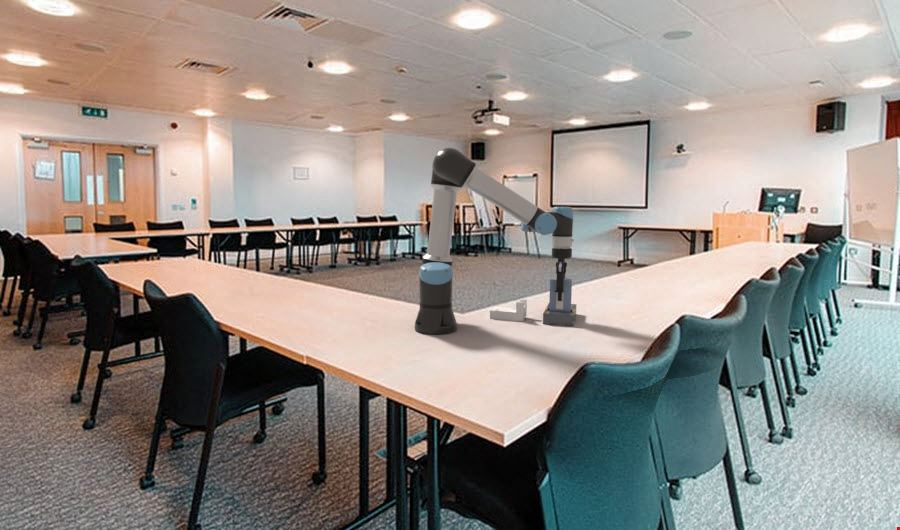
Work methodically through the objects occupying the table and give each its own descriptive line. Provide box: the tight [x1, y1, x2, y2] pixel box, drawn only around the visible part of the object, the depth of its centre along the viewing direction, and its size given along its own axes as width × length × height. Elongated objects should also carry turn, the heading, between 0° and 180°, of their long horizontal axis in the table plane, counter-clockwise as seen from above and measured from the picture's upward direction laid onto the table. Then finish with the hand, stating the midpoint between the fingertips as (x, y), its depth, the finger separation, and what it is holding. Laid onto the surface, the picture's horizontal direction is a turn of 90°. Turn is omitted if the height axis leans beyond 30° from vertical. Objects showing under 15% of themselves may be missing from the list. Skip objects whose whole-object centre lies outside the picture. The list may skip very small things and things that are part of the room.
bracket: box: [489, 298, 528, 322], centre depth 211 cm, size 13×7×8 cm, turn 70°
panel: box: [548, 277, 573, 312], centre depth 206 cm, size 8×4×13 cm, turn 74°
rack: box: [542, 303, 577, 327], centre depth 210 cm, size 11×21×4 cm, turn 164°
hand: (560, 307), depth 207 cm, fingers closed on panel, 3 cm apart
